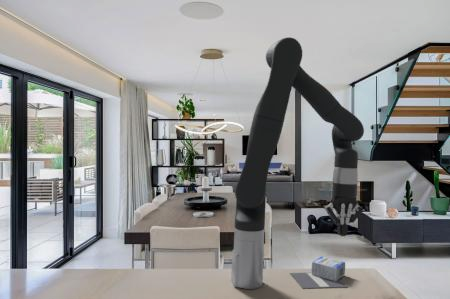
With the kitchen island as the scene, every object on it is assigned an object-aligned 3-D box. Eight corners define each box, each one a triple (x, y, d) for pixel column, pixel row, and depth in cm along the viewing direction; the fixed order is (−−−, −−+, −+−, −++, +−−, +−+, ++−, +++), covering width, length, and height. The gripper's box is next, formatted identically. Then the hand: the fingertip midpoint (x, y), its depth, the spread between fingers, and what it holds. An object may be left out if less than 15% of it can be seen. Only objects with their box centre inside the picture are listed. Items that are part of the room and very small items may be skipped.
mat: (302, 288, 106) (302, 287, 106) (289, 273, 117) (289, 272, 117) (347, 287, 108) (347, 286, 108) (330, 272, 120) (330, 272, 120)
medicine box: (337, 268, 111) (311, 261, 116) (336, 282, 111) (310, 274, 116) (345, 262, 117) (320, 255, 122) (345, 275, 117) (320, 268, 123)
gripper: (330, 182, 107) (327, 238, 108) (370, 183, 109) (367, 238, 110) (320, 179, 115) (317, 232, 115) (358, 180, 117) (355, 232, 117)
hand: (342, 235), depth 112 cm, fingers closed
